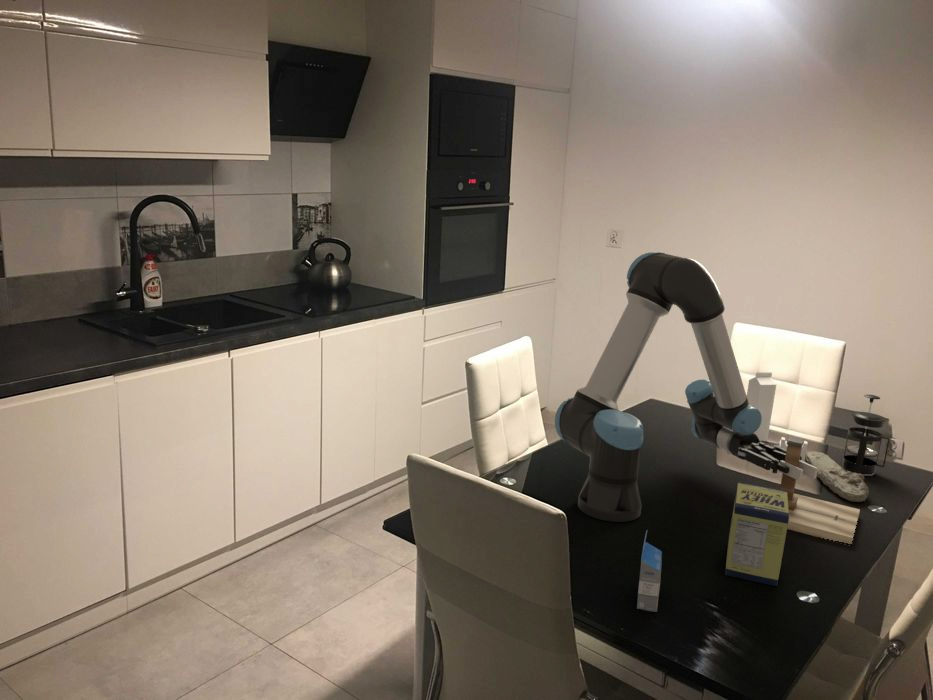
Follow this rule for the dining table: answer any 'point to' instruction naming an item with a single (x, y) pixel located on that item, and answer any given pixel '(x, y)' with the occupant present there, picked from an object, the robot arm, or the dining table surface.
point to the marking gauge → (793, 459)
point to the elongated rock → (838, 477)
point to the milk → (762, 400)
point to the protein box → (757, 533)
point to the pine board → (823, 519)
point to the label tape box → (649, 578)
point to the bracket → (803, 450)
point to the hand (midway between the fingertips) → (808, 474)
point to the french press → (864, 442)
